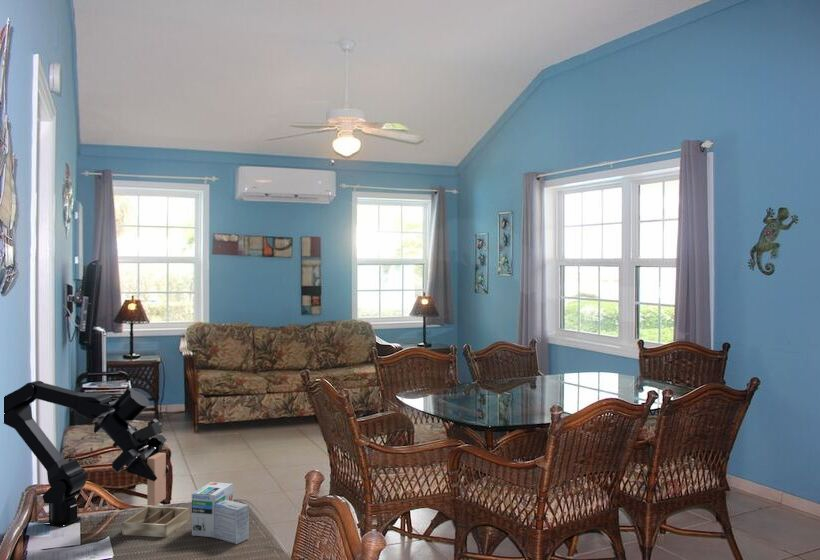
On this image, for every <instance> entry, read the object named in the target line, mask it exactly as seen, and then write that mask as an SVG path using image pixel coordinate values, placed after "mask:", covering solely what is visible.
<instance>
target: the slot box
mask: <svg viewBox="0 0 820 560" xmlns="http://www.w3.org/2000/svg"><path fill="white" fill-rule="evenodd" d="M190 513H191V510H190V507H174V506H173V507H172V506H171V507H170V506H153V505H147V506H145V507H144V508H142V509H141V510H139V511H138V512H136V513H135V514H134V515H132V516H130V517H129V518H127V519H126V520H124V521H123V522H121V535H122V536H139V537H140V536H141V537H157V538H158V537H159V538H160V537H161V538H167V537H169V536H170V535H171V534H173V533H174V532H176V531H177V530H178V529H179V528H180V527H182V526H183V525H185V524H186V523H187V522H188V521H189V520H190V518H191V517H190V516H191V514H190Z"/></svg>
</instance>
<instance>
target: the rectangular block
mask: <svg viewBox="0 0 820 560" xmlns="http://www.w3.org/2000/svg"><path fill="white" fill-rule="evenodd" d="M147 464H148V466H149V467H150V468H151V470H152V471H153V472H154V474H155V475H156V477H157V479H156V480H155V481H152V480H149V479H147V488H146V490H147V491H146V492H147V495H146V496H147V497H146V498H147V499H146V500H147V502H146V503H147V504H146V505H147V506H154V507H156V505H157V504H159V503H161V502H162V501H163V500H164V501H165V499H167V474H166V465H167V452H162V453H157V454H155V455H153V456H151V457H149V458H147Z"/></svg>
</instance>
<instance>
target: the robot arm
mask: <svg viewBox="0 0 820 560" xmlns="http://www.w3.org/2000/svg"><path fill="white" fill-rule="evenodd" d="M4 396H5V397H4V413H5V414H4V423H3V424H4V425H6V426H8V427H10V428H12V429H14V430H15V431H16V433H17V434H18V435H19V436H20V437H21V439H22V440H23V442H24V443H25V445H26V446H27V447H28V448H29V450H30V451H31V452H32V453H33V454H34V456H35V457H36V458H37V461H39V462H40V464H41V465H42V466H43V468H44V469H45V470H46V474H47V482H48V485H49V486H50V487H49V488H48V489H47V490H46V491H45V492H44V493H43V494H42V499H43V502H44V504H48V520H45V521H44V523H50V524H53V525H52V526H54V525H59V526H58V527H60V526H63V525H66V526H68V525H70V524H73V523H75V522H77V521H80V520H81V519H82V517H81V516H78V504H77V497H76V496H78V495H80V494H81V492H82V489H83V488H84V487H85V485H86V482H87V474H86V473H85V472H86V469H85V468H83V467H82V465H80V463H79V461H78V460H77V459H72V460H70V461H69V460H67V459H65V458H64V457H63V455H62V454H61V453H60V452H59V450H58V449H57V447H56V446H55V445H54V444H53V443H52V441H51V440H50V439H49V437H48V436H47V434H46V433H45V432H44V431H43V430H42V428H41V427H40V426H39V425H38V423H37V422H36V421H35V419H34V418H33V412H32V405H31V404H32V403H33V402H35V401H36V400H40V401H43V402H47V403H51V404H55V405H58V406H62V407H65V408H69V409H71V410H74V412H75V413H76V414H77V415H79V416H82V417H84V418H86V419H89V420H94V419H97V418H99V417H102V416H104V417H103V418H101V419H100V420H97V421H94V428H93V433H94V434H96V433H99V432H101V431H103V432H104V433H105V434H106V435H107V436H108V437H109V438H110V439H111V441H113V444H112V446H113V448H114V449H116V448H119V449H120V450H121V451H122V452H121V453H120V454H119V455H118V456H117V457H116V458H115V459H114V460H113V461H112V462H111V468H112V469H113V471H114V472H115V473H116V474H118V473H120V472H123V473H130V474H132V475H135V476H139V477H141V478H144V479H149V480H152V481H155V480H156V479H157V477H156V475H155V474H154V472H153V471H152V470H151V468H150V467H149V466H148V464H147V458H149V457H151V456H153V455H155V454H157V453H163V452H162V451H163V447H164V444H165V443H166V442H167V439H166V438H165V436H163V430H162V428H163V425H164V424H163V423H161V422H160V420H158V419H157V418H154V419H152V420H149V421H147V425H146V426H145V427H142V428H141V427H139V426H132V425H131V424H130V421H131V422H133V421H135V420H136V419H137V418H138V417H139V416H140V415H141V414H142V413H143V412H144V411H145V409H147V407H148V406H149V405H150V401H149V398H148V397H147V396H146V395H145V394H143V393H142V392H140V391H137V390H135V389H134V388H133V387H129V388H127V389H126V390H124V393H123V394H122V395H121V396H120V397H119V398H114V397H111V395H110V394H108V393H103V392H79V391H77V390H76V391H75V390H73V389H69V388H64V387H60V386H57V385H54V384H49V383H45V382H44V381H41V380H36V381H30V382H27V383H25V384H24V385H23V386H22V387H21V386H20V388H18V389H16V390H14V391H12V392H10V393H8V394H6V395H4ZM111 411H113V412H112V413H111ZM125 466H126V467H125ZM169 472H170V471H169V468H168V466H167V464H166V475H168V473H169ZM44 523H43V524H44ZM67 524H68V525H67ZM63 527H64V526H63Z"/></svg>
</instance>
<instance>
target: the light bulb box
mask: <svg viewBox="0 0 820 560" xmlns="http://www.w3.org/2000/svg"><path fill="white" fill-rule="evenodd" d="M225 500H230V501H234V484H233V483H229V482H228V483H226V482H218V481H217V482H215V481H210V482H209V483H207V484H205V485H203V487H200V488H199V489H197V490H196V491H193V492H191V536H193V537H194V536H195V537H206V538H214V505H215V504H217V503H219V502H222V501H225Z"/></svg>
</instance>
